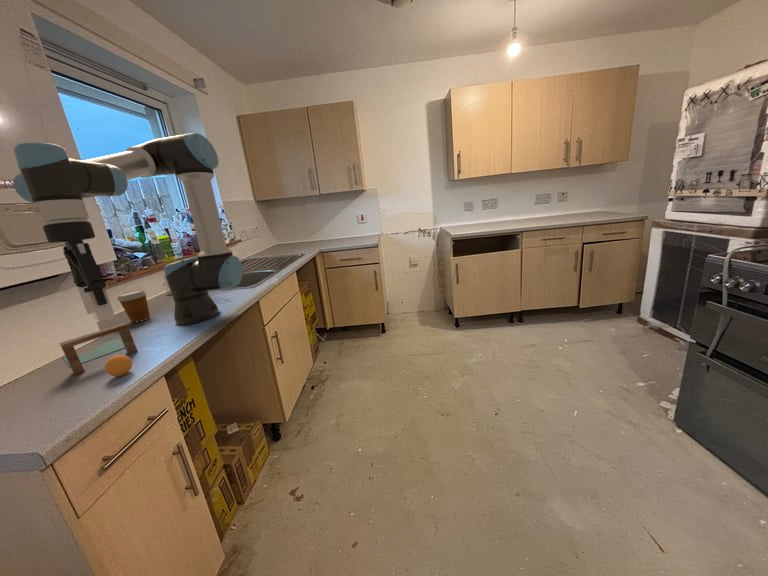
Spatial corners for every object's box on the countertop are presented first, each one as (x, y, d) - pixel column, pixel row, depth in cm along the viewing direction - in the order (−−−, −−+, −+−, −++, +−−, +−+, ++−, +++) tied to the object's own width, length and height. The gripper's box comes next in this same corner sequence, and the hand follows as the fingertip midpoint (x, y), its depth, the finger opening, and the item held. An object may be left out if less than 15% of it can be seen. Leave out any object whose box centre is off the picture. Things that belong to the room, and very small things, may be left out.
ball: (131, 367, 86) (124, 349, 84) (138, 371, 83) (130, 353, 81) (106, 377, 82) (98, 358, 80) (112, 382, 79) (104, 363, 77)
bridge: (73, 372, 87) (59, 343, 85) (134, 349, 98) (124, 322, 96) (75, 375, 86) (61, 345, 83) (137, 351, 96) (127, 324, 94)
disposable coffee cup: (139, 324, 124) (128, 295, 120) (120, 325, 126) (109, 297, 122) (160, 315, 132) (150, 288, 129) (142, 316, 135) (132, 289, 131)
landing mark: (116, 339, 110) (116, 338, 110) (128, 346, 101) (128, 346, 101) (62, 357, 99) (62, 357, 99) (70, 367, 91) (70, 367, 91)
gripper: (36, 228, 72) (70, 314, 77) (47, 219, 56) (88, 329, 61) (80, 224, 77) (109, 305, 82) (101, 215, 61) (135, 316, 67)
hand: (100, 315), depth 72 cm, fingers open, 13 cm apart
